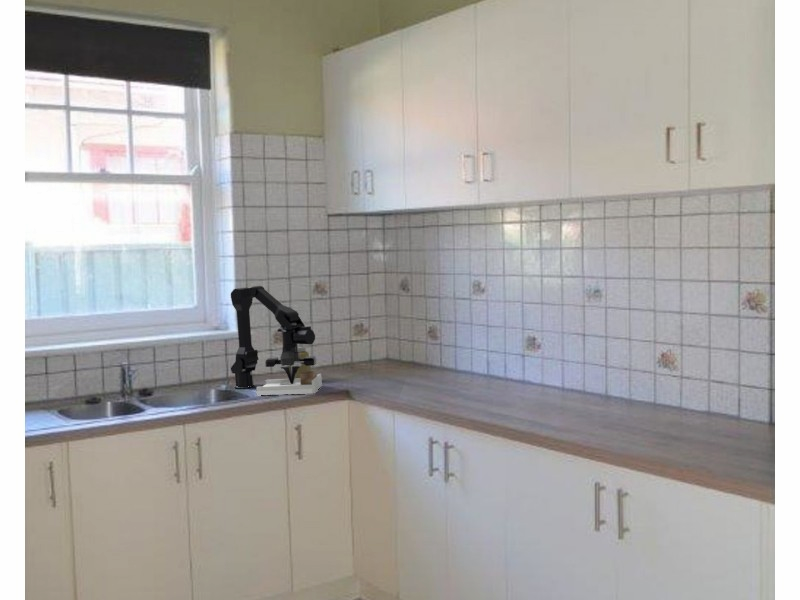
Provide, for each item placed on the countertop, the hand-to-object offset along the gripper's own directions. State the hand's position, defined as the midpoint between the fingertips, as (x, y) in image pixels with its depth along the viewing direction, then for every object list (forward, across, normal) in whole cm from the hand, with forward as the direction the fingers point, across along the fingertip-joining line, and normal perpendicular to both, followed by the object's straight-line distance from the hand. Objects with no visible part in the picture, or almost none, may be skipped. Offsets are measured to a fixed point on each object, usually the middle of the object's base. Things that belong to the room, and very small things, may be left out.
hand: (292, 383), depth 332 cm
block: (+1, +6, 0) cm, 6 cm away
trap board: (+3, -1, 0) cm, 3 cm away
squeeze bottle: (+3, 0, +19) cm, 20 cm away
